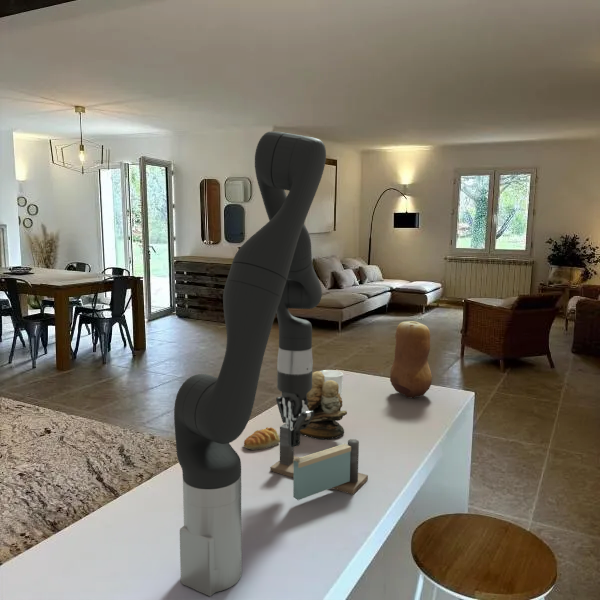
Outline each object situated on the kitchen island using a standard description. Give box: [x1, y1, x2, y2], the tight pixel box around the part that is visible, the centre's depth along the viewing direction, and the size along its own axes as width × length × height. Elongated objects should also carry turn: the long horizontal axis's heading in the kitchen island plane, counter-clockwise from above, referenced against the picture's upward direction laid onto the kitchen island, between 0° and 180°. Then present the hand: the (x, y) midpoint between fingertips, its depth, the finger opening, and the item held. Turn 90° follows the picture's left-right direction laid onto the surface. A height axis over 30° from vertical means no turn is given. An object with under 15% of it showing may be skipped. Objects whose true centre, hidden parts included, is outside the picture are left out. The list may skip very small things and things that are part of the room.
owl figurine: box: [300, 370, 348, 440], centre depth 151 cm, size 18×12×17 cm, turn 50°
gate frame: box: [269, 423, 369, 495], centre depth 124 cm, size 8×21×10 cm, turn 60°
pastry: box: [243, 426, 280, 451], centre depth 141 cm, size 9×7×4 cm
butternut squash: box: [389, 320, 433, 399], centre depth 180 cm, size 14×13×25 cm
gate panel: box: [292, 443, 351, 501], centre depth 115 cm, size 2×14×8 cm, turn 127°
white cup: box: [319, 369, 344, 398], centre depth 173 cm, size 8×8×10 cm
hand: (293, 445), depth 120 cm, fingers closed
